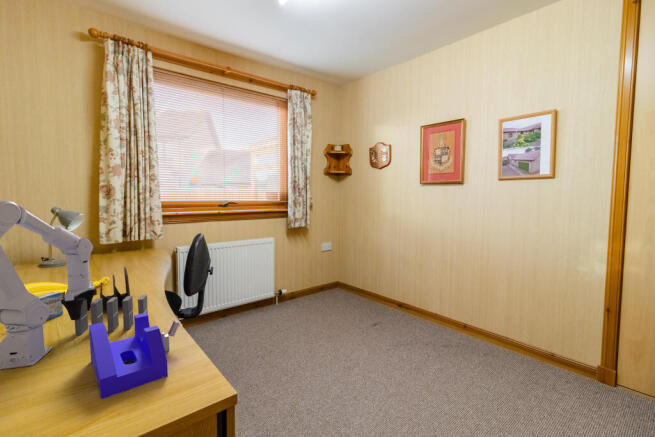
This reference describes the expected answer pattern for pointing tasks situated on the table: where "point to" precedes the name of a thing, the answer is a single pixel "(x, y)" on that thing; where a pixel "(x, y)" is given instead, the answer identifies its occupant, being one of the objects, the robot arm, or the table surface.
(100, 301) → the domino
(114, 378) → the bracket
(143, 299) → the end domino
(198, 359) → the table surface
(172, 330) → the lighter
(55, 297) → the medicine box
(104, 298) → the letter holder
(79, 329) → the domino
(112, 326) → the domino
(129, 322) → the domino
